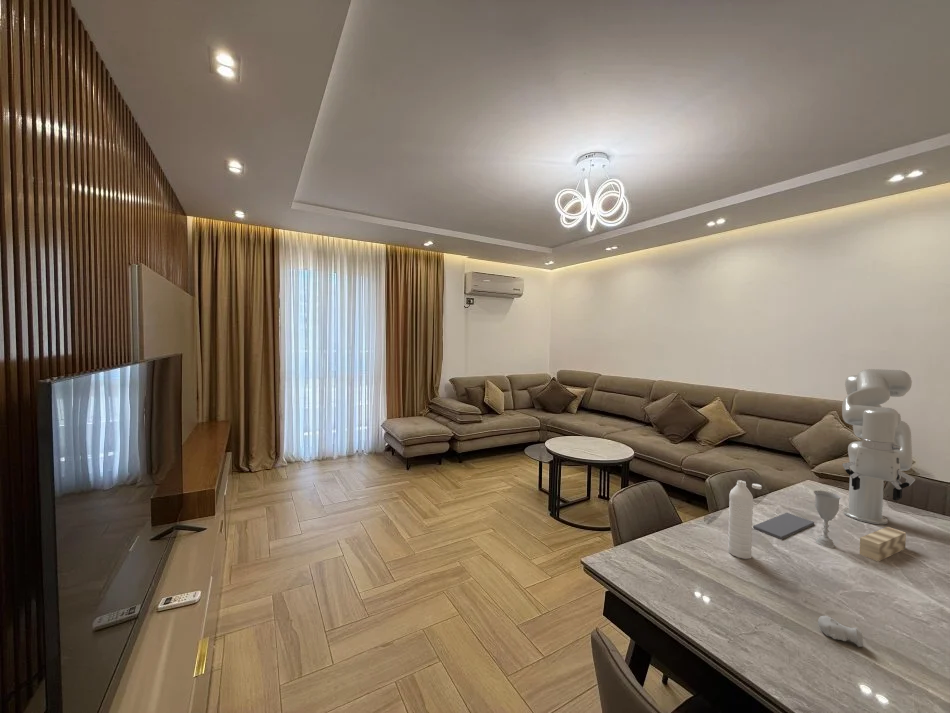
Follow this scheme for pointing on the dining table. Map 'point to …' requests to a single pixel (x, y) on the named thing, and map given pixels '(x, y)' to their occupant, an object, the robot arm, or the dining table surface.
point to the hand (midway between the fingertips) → (875, 494)
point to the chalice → (826, 513)
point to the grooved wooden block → (882, 543)
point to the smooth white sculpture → (840, 630)
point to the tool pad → (783, 525)
